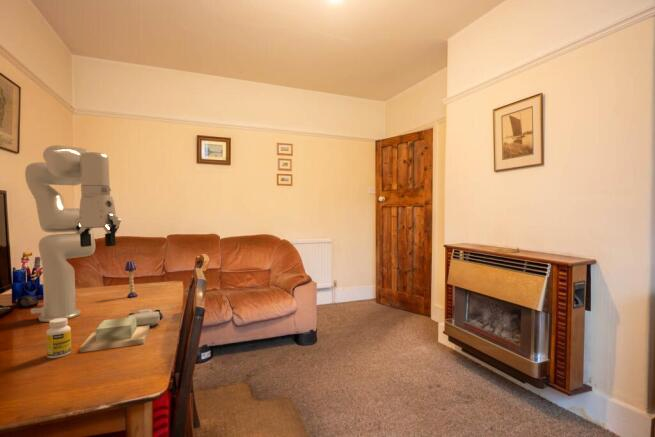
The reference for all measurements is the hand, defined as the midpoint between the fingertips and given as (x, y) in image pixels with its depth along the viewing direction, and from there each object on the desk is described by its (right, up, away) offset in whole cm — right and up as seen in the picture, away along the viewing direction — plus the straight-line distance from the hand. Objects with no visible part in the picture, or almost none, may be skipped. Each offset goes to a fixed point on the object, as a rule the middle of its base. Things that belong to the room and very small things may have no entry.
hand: (98, 246), depth 107 cm
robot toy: (+7, -29, +13) cm, 33 cm away
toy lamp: (-19, -28, +52) cm, 62 cm away
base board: (+7, -29, -2) cm, 30 cm away
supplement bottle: (-3, -30, -12) cm, 32 cm away
